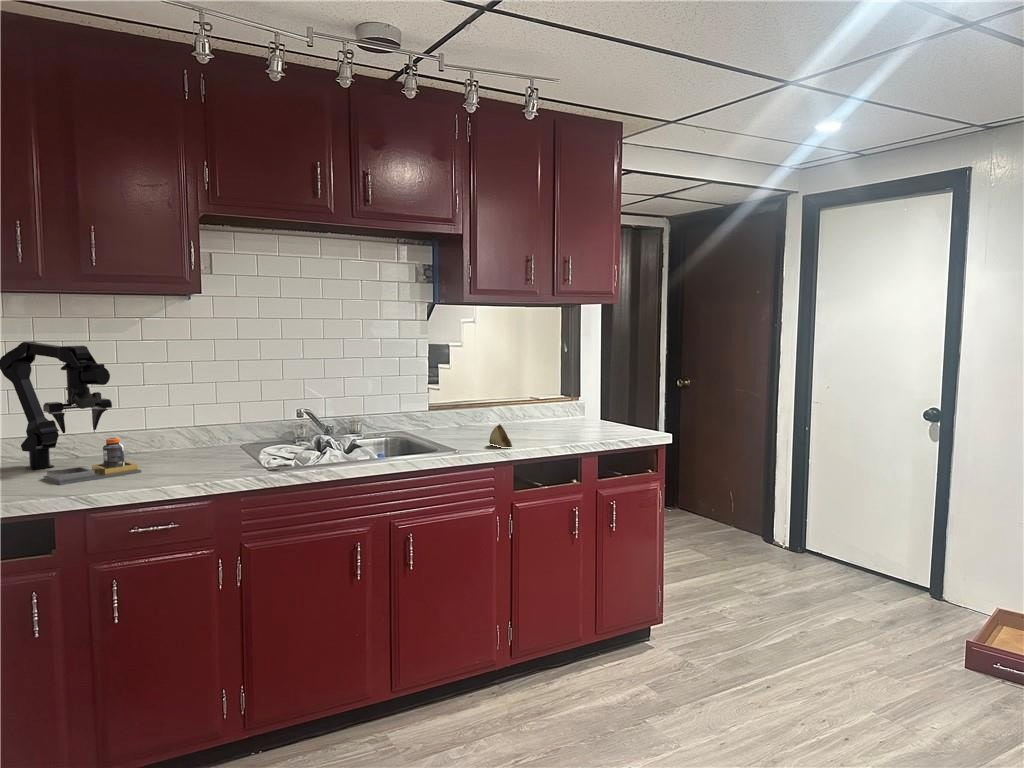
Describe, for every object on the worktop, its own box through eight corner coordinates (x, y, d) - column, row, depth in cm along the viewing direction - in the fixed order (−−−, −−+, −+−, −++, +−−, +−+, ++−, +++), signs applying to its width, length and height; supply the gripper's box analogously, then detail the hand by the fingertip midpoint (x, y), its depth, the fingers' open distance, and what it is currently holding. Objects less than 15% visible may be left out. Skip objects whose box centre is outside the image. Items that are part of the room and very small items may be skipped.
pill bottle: (128, 470, 239) (126, 436, 238) (119, 474, 233) (117, 439, 232) (109, 470, 238) (108, 436, 237) (100, 474, 232) (98, 439, 231)
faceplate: (43, 478, 225) (43, 470, 225) (123, 467, 244) (123, 459, 244) (59, 485, 217) (59, 476, 217) (141, 472, 236) (141, 464, 236)
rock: (482, 439, 293) (486, 440, 283) (494, 422, 294) (498, 422, 284) (503, 455, 294) (508, 456, 284) (515, 438, 295) (520, 438, 286)
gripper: (54, 387, 223) (57, 437, 224) (118, 383, 237) (120, 430, 239) (41, 385, 230) (43, 433, 231) (103, 381, 244) (105, 427, 246)
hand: (79, 431), depth 237 cm, fingers open, 9 cm apart
